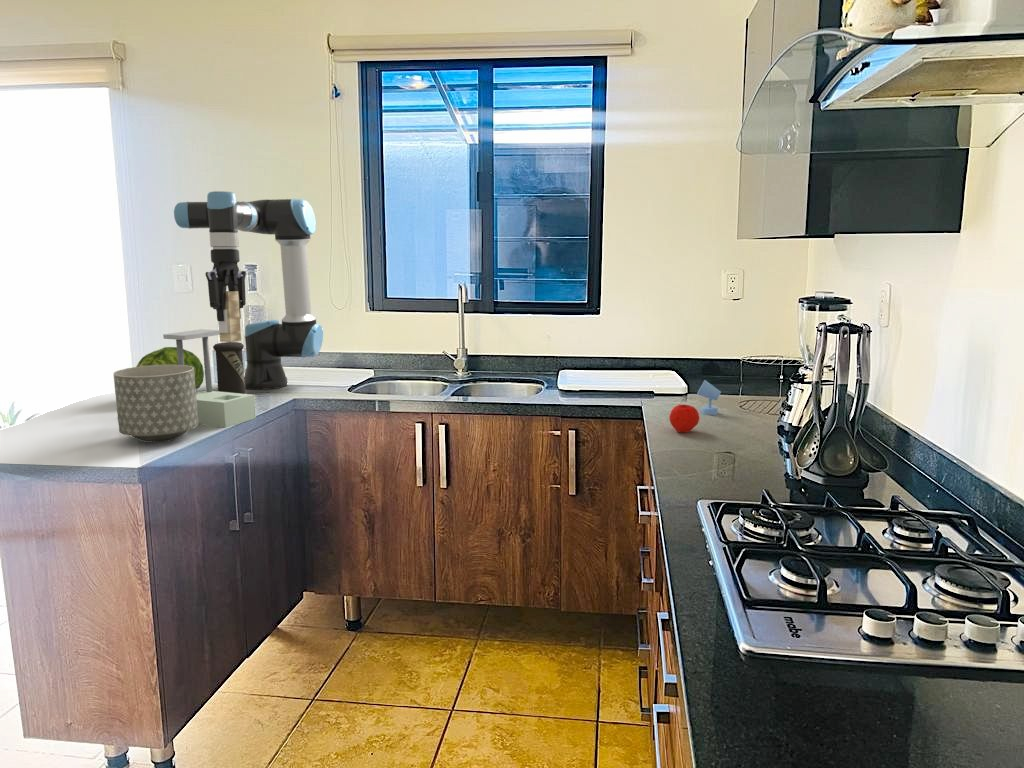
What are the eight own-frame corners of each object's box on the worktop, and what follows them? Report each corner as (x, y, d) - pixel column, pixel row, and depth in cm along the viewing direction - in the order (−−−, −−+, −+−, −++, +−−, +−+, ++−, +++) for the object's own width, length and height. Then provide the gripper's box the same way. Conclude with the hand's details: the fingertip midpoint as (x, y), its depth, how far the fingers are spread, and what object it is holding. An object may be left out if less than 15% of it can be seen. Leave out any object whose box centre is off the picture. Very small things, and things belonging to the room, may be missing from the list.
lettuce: (105, 380, 244) (136, 350, 236) (157, 357, 265) (188, 328, 256) (142, 426, 246) (175, 398, 238) (191, 399, 267) (223, 372, 258)
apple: (704, 433, 206) (705, 406, 205) (677, 436, 204) (678, 408, 203) (689, 427, 214) (690, 400, 213) (663, 429, 212) (664, 402, 210)
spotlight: (695, 414, 230) (719, 415, 228) (696, 380, 228) (721, 382, 226) (696, 410, 234) (720, 412, 232) (697, 378, 233) (721, 379, 231)
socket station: (170, 421, 223) (163, 334, 219) (207, 412, 236) (201, 329, 231) (223, 428, 216) (216, 337, 211) (258, 417, 228) (252, 332, 224)
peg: (230, 340, 225) (227, 291, 222) (241, 340, 223) (238, 291, 221) (220, 341, 221) (216, 291, 219) (231, 342, 219) (228, 292, 217)
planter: (146, 429, 215) (140, 364, 212) (212, 430, 213) (207, 364, 210) (104, 446, 197) (97, 376, 193) (175, 448, 195) (169, 376, 191)
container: (238, 408, 241) (233, 344, 237) (212, 407, 243) (207, 343, 239) (252, 402, 249) (248, 340, 246) (227, 401, 251) (222, 340, 247)
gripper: (236, 248, 227) (241, 328, 231) (191, 248, 211) (197, 334, 215) (256, 248, 224) (261, 329, 228) (212, 248, 208) (218, 335, 212)
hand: (229, 331), depth 221 cm, fingers closed on peg, 4 cm apart
